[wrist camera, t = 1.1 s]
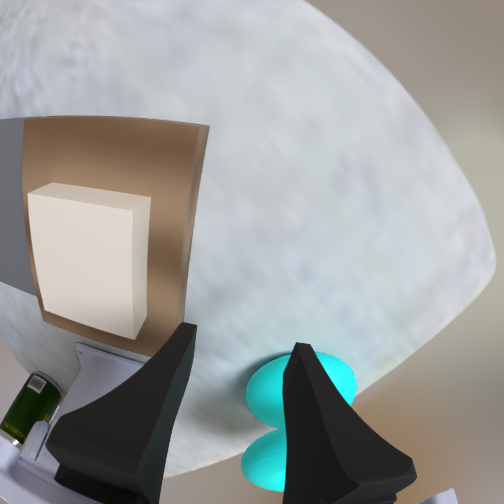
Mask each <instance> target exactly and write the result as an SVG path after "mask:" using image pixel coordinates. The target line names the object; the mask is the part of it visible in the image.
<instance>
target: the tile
mask: <svg viewBox="0 0 504 504" xmlns="http://www.w3.org/2000/svg"><path fill="white" fill-rule="evenodd" d="M150 205H151V197H146V196H140V195H134V194H128V193H121V192H115V191H109V190H102V189H95V188H88V187H81V186H74V185H67V184H59V183H50V184H47V185H45V186H43V187H40V188H38V189H36V190H34V191H32V192H29V193H28V210H29V222H30V231H31V240H32V247H33V254H34V261H35V266H36V272H37V277H38V282H39V287H40V292H41V296H42V300H43V305H44V309H45V310H46V311H49V312H51V313H54V314H56V315H59V316H62V317H64V318H67V319H70V320H73V321H76V322H79V323H81V324H84V325H87V326H90V327H93V328H96V329H100V330H103V331H106V332H109V333H112V334H116V335H119V336H123V337H126V338H129V339H133V340H135V339H136V337H137V335H138V333H139V331H140V329H141V327H142V325H143V323H144V321H145V319H146V317H147V254H148V233H149V218H150Z"/></svg>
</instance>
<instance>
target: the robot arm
mask: <svg viewBox="0 0 504 504" xmlns="http://www.w3.org/2000/svg"><path fill="white" fill-rule="evenodd" d="M196 331H197V325H194V324H190V323H185V322H182V323H180V324H179V325H178V327H177V328H176V330H175V331H174V333H173V334H172V335H171V336H170V338H169V339H168V340H167V341H166V342H165V344H164V345H163V346H162V347H161V348H160V349H159V350H158V351H157V352H156V354H155V355H154V356H153V357H152V358H151V359H150V360H148V361H147V362H146V363H145V364H143V363H140V362H136V361H133V360H129V359H126V358H123V357H119V356H116V355H113V354H110V353H107V352H104V351H101V350H98V349H95V348H92V347H89V346H86V345H83V344H81V343H77V344H76V345H75V348H76V352H77V356H78V359H79V362H80V366H81V369H80V371H79V373H78V375H77V376H76V378H75V380H74V382H73V384H72V385H71V387H70V389H69V391H68V393H67V394H66V396H65V398H64V400H63V402H62V404H61V406H60V408H59V409H58V411H57V413H56V415H55V417H54V419H53V421H52V422H51V423H50V424H48V423H47V422H46V421H44V420H42V421H37V422H36V423H35V424H34V426H33V427H32V429H31V431H30V433H29V435H28V436H27V438H26V440H25V442H24V444H23V446H22V448H21V451H20V450H19V449H18V447H17V446H15V445H14V444H13V443H12V442H11V441H9V440H8V439H6V438H5V437H4V436H2V435H1V434H0V497H1V498H2V499H4V500H5V501H6V502H8V503H9V504H159V499H160V491H161V486H162V480H163V474H164V468H165V463H166V458H167V453H168V448H169V443H170V438H171V433H172V429H173V425H174V422H175V418H176V416H177V413H178V410H179V407H180V404H181V401H182V398H183V395H184V392H185V389H186V386H187V383H188V380H189V376H190V372H191V367H192V363H193V358H194V349H195V340H196ZM282 397H283V408H284V418H285V429H286V442H287V450H286V472H285V485H284V496H283V504H393V502H395V501H396V500H397V497H396V493H397V492H399V491H401V490H402V489H404V488H406V487H407V486H409V485H410V484H412V483H413V482H414V481H415V480H416V478H417V475H416V471H415V467H414V464H413V461H412V458H410V457H409V456H407V455H406V454H404V453H402V452H401V451H399V450H398V449H396V448H395V447H393V446H392V445H391V444H389V443H388V442H387V441H385V440H384V439H383V438H382V437H380V436H379V435H378V434H377V433H376V432H375V431H373V430H372V429H371V428H370V427H369V426H368V425H367V424H366V423H365V422H364V421H363V420H362V419H361V418H360V417H359V416H358V415H357V413H356V412H355V411H354V410H353V409H352V408H351V407H350V405H349V404H348V403H347V402H346V400H345V399H344V398H343V396H342V395H341V394H340V392H339V391H338V389H337V388H336V386H335V385H334V383H333V382H332V380H331V379H330V377H329V376H328V374H327V372H326V371H325V369H324V367H323V366H322V364H321V362H320V361H319V359H318V357H317V355H316V354H315V352H314V350H313V348H312V347H311V345H310V344H306V343H298V342H296V344H295V346H294V349H293V351H292V353H291V356H290V358H289V361H288V363H287V365H286V368H285V370H284V372H283V385H282ZM417 504H458V503H457V499H456V495H455V492H454V489H453V488H451V489H448V490H446V491H443V492H440V493H438V494H435V495H433V496H431V497H429V498H427V499H425V500H424V501H423V502H421V503H417Z"/></svg>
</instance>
